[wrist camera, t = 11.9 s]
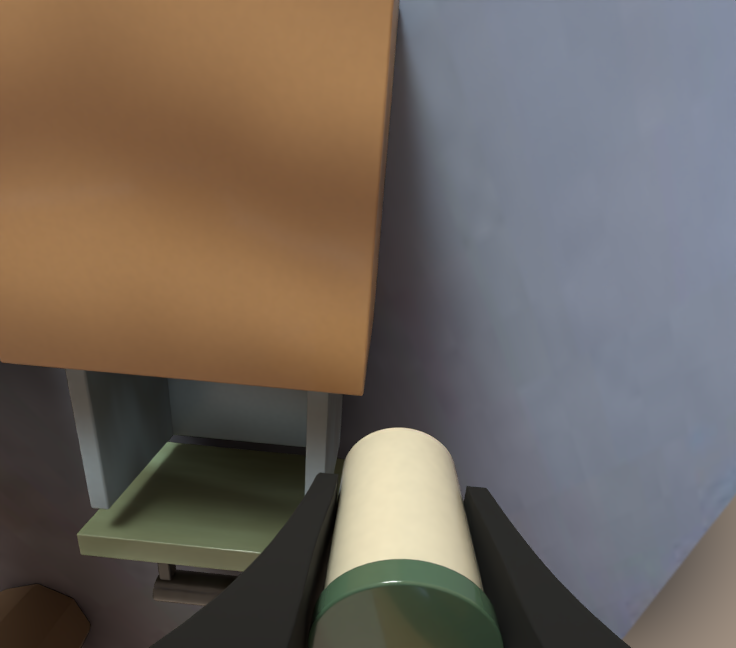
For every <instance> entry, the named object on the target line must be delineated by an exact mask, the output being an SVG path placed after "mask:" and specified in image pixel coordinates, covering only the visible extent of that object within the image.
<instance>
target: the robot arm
mask: <svg viewBox="0 0 736 648" xmlns="http://www.w3.org/2000/svg"><path fill="white" fill-rule="evenodd" d="M338 476H339V474H332V473H321V472H320V473H318V474H317V475H316V477H315V479H314V481H313V483H312V484H311V486H310V488H309V490H308V491H307V493H306V495H305V496H304V498H303V499H302V501H301V502H300V504H299V505H298V507H297V508H296V510H295V511H294V512H293V514H292V515H291V517H290V518H289V519H288V521H287V522H286V524H285V525H284V526H283V527H282V529H281V530H280V531H279V532H278V534H277V535H276V536H275V537H274V539H273V540H272V541H271V542H270V543H269V545H268V546H267V547H266V548H265V549H264V550H263V551H262V553H261V554H260V555H259V556H258V557H257V558H256V559H255V560H254V561H253V562H252V563H251V564H250V565H249V566H248V567H247V568H246V569H245V570H244V571H243V572H242V573H241V574H240V575H239V576H238V577H237V578H236V579H235V580H234V581H233V582H232V583H231V584H230V585H229V586H228V587H227V588H225V589H224V590H223V591H222V592H221V593H220V594H219V595H217V596H216V597H215V598H214V599H213V600H211V601H210V602H209V603H208V604H207V605H205V606H204V607H203V608H202V609H200V610H199V611H198V612H197V613H196V614H194V615H193V616H192V617H191V618H189V619H188V620H187V621H185V622H184V623H183V624H181V625H180V626H178V627H177V628H176V629H174V630H173V631H171V632H170V633H169V634H167V635H166V636H164V637H163V638H162V639H160V640H159V641H157V642H156V643H155V644H153V645H152V646H150V647H149V648H307V639H308V634H309V628H310V623H311V617H312V612H313V608H314V606H315V603H316V601H317V599H318V598H319V596H320V595H321V593H322V590H323V584H324V578H325V572H326V566H327V560H328V554H329V548H330V542H331V536H332V530H333V524H334V518H335V512H336V506H337V493H338ZM464 506H465V510H466V514H467V518H468V523H469V527H470V531H471V536H472V540H473V544H474V548H475V553H476V557H477V561H478V566H479V570H480V574H481V578H482V583H483V587H484V591H485V595H486V596H487V597H488V598H489V600H490V602H491V603H492V605H493V607H494V609H495V612H496V614H497V617H498V621H499V625H500V629H501V633H502V637H503V643H504V648H631V647H630V646H628V645H627V644H626V643H625V642H624V641H623V640H621V639H620V638H619V637H618V636H617V635H615V634H614V633H613V632H612V631H611V630H610V629H609V628H608V627H606V626H605V625H604V624H603V623H602V622H601V621H600V620H599V619H598V618H596V617H595V616H594V615H593V614H592V613H591V612H590V611H589V610H588V609H587V608H586V607H585V606H584V605H582V604H581V603H580V602H579V601H578V600H577V599H576V598H575V597H574V596H573V595H572V594H571V592H570V591H569V590H568V589H567V588H566V587H565V586H564V585H563V584H562V583H561V582H560V581H559V580H558V579H557V578H556V577H555V576H554V575H553V574H552V573H551V571H550V570H549V569H548V568H547V567H546V566H545V564H544V563H543V562H542V561H541V560H540V559H539V557H538V556H537V555H536V554H535V553H534V551H533V550H532V549H531V548H530V546H529V545H528V544H527V543H526V541H525V540H524V539H523V537H522V536H521V535H520V534H519V532H518V531H517V530H516V528H515V527H514V526H513V524H512V523H511V522H510V520H509V519H508V518H507V516H506V515H505V514H504V512H503V511H502V509H501V508H500V507H499V505H498V504H497V502H496V501H495V499H494V498H493V497H492V495H491V494H490V492H489V491H488V490H487V489H486V488H481V487H470V486H467V488H466V493H465V499H464Z"/></svg>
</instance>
